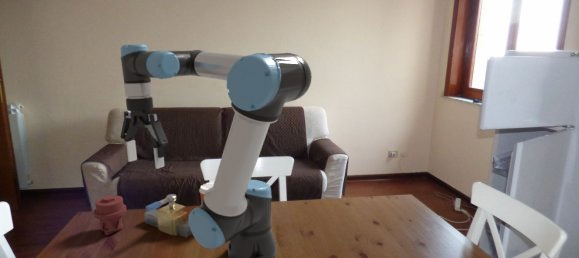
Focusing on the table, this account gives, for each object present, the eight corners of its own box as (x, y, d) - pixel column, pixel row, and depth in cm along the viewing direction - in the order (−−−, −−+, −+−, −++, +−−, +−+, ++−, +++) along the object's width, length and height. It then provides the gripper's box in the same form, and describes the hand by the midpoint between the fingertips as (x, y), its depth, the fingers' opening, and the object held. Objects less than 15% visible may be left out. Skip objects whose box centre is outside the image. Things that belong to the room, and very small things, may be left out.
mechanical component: (134, 225, 130) (115, 239, 121) (109, 222, 132) (89, 236, 123) (131, 193, 127) (112, 205, 118) (105, 190, 129) (85, 202, 120)
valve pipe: (197, 230, 127) (195, 202, 124) (183, 239, 121) (181, 209, 119) (156, 217, 136) (154, 190, 134) (142, 224, 131) (139, 196, 128)
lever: (178, 199, 126) (178, 195, 126) (151, 212, 116) (150, 208, 116) (171, 197, 127) (171, 193, 127) (144, 210, 118) (143, 206, 117)
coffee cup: (195, 227, 129) (193, 187, 126) (211, 217, 136) (209, 180, 133) (214, 233, 125) (213, 192, 122) (229, 223, 133) (228, 184, 129)
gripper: (176, 97, 107) (182, 166, 112) (125, 93, 121) (132, 155, 125) (155, 100, 101) (162, 174, 106) (103, 95, 114) (111, 161, 119)
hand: (146, 164), depth 115 cm, fingers open, 13 cm apart
